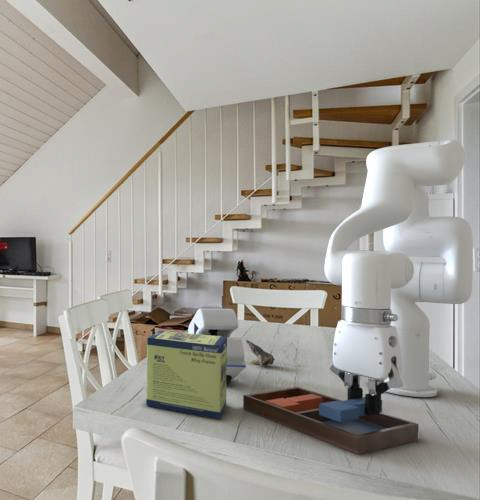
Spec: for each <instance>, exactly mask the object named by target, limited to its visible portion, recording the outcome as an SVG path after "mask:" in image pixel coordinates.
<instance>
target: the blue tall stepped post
mask: <svg viewBox="0 0 480 500" xmlns="http://www.w3.org/2000/svg"><path fill="white" fill-rule="evenodd" d="M379 413H383V399H381V410H380V412H379ZM319 415H321V416H323V417H326V418H329V419H332V420H335V421H338V422H345V421H351V420H356V419H359V416H365V415H366V413H365V396H363V397H362V398H356V399H350V400H347V399H344V400H342V402H340V401H332V402H326V403H320V404H319Z"/></svg>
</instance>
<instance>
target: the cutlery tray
mask: <svg viewBox="0 0 480 500" xmlns="http://www.w3.org/2000/svg"><path fill="white" fill-rule="evenodd" d="M308 394H314V395H317V396H321V397H323V403H326V402H332V401H340V402H342V401H343V400H342V399H339V398H335V397H332V396H329V395H325V394H323V393H319V392H316V391H312V390H310V389H306V388H303V387H300V386H294V387H293V386H292V387H287V388H280V389H276V390H275V389H274V390H267V391H261V392H254V393H247V394H243V395H242V397H243V398H242V409H243V410H245V411H248V412H250V413H253V414H255V415H258V416H260V417H262V418H265V419H267V420H270V421H272V422H274V423H278V424H281V425H282V426H285V427H288V428H289V429H292V430H295V431H298V432H299V433H302V434H305V435H307V436H310V437H312V438H315V439H318V440H320V441H323V442H325V443H327V444H330V445H333V446H335V447H338V448H340V449H342V450H345V451H347V452H350V453H353V454H355V455H358V456H359V455H363V454H367V453H371V452H375V451H380V450H384V449H388V448H392V447H397V446H401V445H405V444H408V443H413V442H417V441H419V423H417V422H414V421H410V420H407V419H404V418H401V417H397V416H393V415H390V414H387V413H384V412H381V413H379V414H376V415H371V416H369V415H365V416H359V419H356V420H351V421H345V422H338V421H335V420H332V419H329V418H326V417H323V416H321V415H319V408H318V409H312V410H306V411H301V412H292V411H290V410H287V409H284V408H281V407H279V406H276V405H273V404H270V403H268V402H266V401H267V400H273V399H279V398H284V399H286V398H290V397H296V396H302V395H308Z"/></svg>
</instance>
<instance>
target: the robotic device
mask: <svg viewBox="0 0 480 500" xmlns="http://www.w3.org/2000/svg"><path fill="white" fill-rule="evenodd" d="M237 317H238V316H237V313H236V311H235V310H234V309H233V308H219V307H218V308H217V307H216V308H213V307H212V308H208V307H207V308H206V307H205V308H204V307H201V308H198V309H197V310H196V313H195V314H194V316H193V318H192V319H191V321H190V323H189V325H188V329H187V333H190V334H201V335H211V336H223V337H227V374H226V386H228V385H230V383H231V382H232V381H234V380H235V379H236V378H237V377H238V376H239V375H240V374H241V373H242V372H243V371H244V370H245V369H246V367H247V365H246V362H245V350H244V345H243V339H242V338H241V337H230V336H231V335H232V333H233V332H234V331H236V330H237V329H239V321H238V318H237Z"/></svg>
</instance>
